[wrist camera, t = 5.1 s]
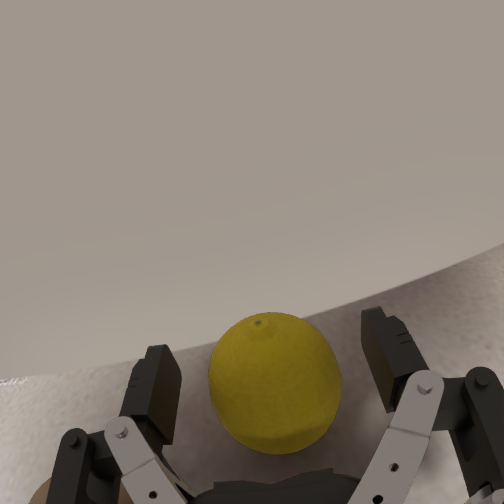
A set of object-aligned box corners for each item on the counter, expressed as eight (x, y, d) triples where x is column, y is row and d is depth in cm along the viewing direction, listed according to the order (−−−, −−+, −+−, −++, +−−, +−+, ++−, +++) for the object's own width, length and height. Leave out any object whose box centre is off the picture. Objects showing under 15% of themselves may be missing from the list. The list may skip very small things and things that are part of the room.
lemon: (238, 395, 17) (195, 287, 14) (333, 383, 17) (325, 266, 13) (232, 479, 13) (167, 390, 9) (347, 468, 12) (355, 370, 8)
